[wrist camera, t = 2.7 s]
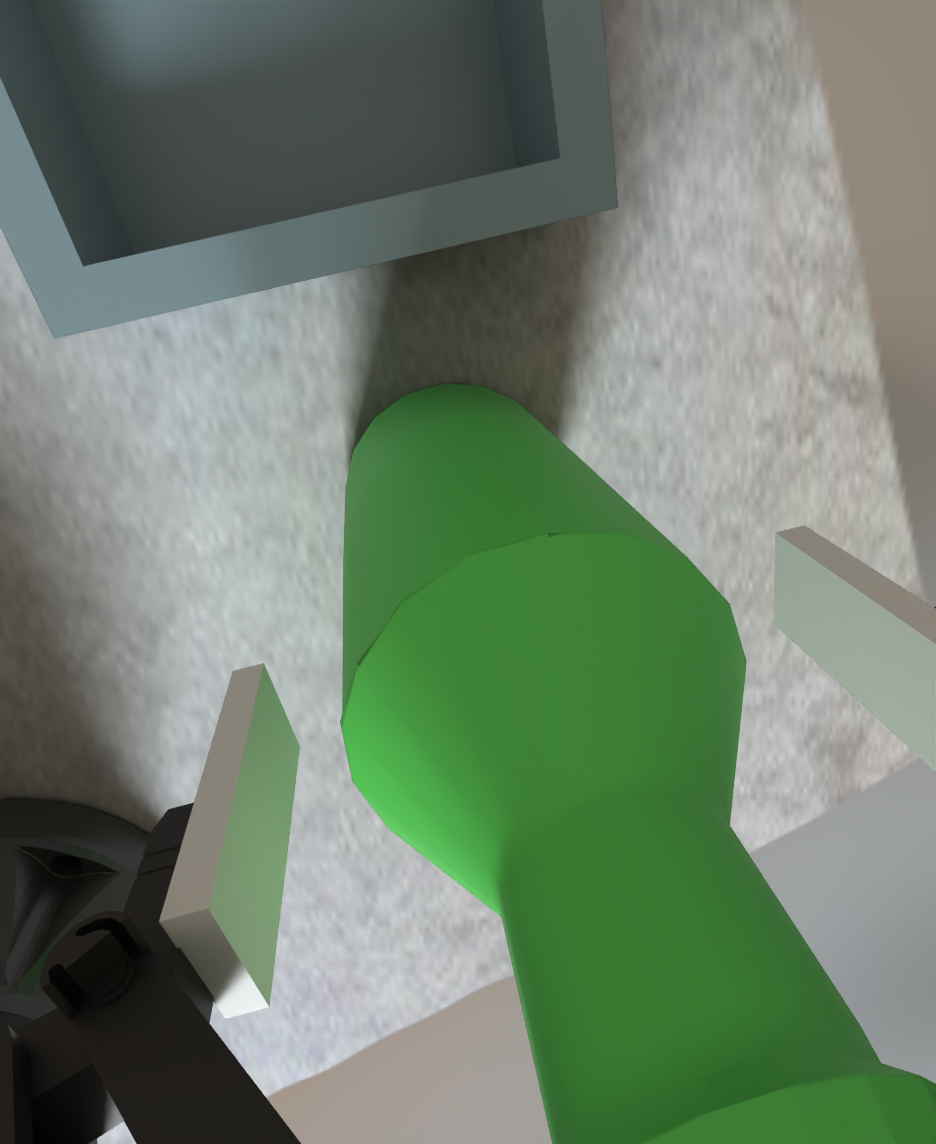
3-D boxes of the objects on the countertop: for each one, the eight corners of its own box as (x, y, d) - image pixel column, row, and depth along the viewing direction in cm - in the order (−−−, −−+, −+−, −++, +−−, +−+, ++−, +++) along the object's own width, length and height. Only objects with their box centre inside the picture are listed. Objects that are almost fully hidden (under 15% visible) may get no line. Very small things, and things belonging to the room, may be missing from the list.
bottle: (529, 352, 26) (1603, 981, 4) (567, 543, 30) (1186, 1388, 8) (314, 415, 26) (87, 1496, 3) (382, 599, 30) (477, 1637, 8)
